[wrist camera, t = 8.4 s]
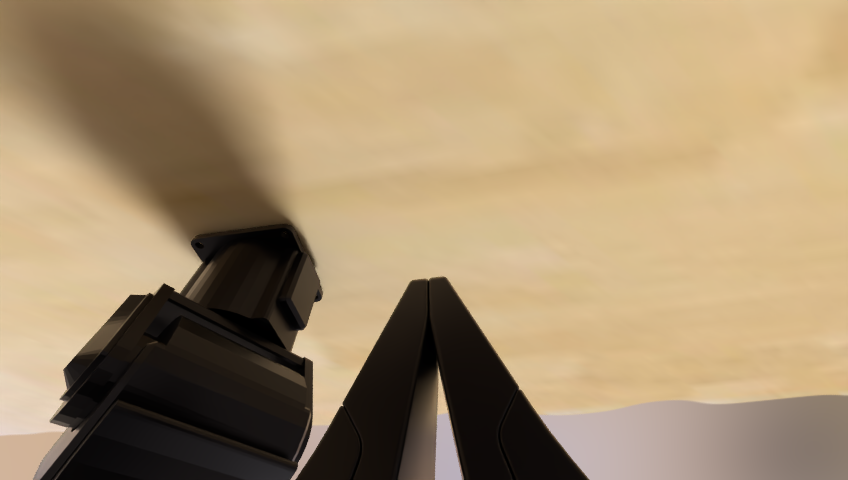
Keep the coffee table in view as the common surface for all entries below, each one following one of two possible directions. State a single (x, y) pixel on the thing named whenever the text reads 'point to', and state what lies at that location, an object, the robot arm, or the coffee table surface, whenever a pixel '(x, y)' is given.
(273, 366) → the robot arm
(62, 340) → the coffee table surface
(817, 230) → the coffee table surface
